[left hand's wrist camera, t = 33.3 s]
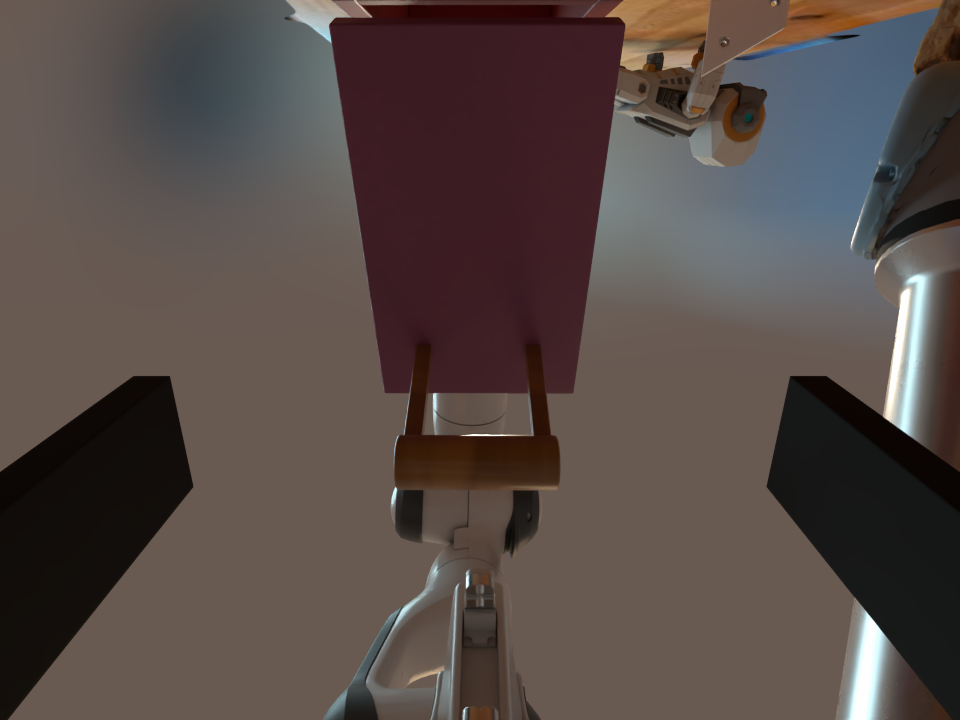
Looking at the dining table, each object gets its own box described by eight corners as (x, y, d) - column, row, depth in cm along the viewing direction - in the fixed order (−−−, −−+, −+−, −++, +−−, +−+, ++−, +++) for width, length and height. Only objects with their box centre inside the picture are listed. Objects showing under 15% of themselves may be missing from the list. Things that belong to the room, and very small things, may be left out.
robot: (554, 27, 116) (727, 76, 126) (532, 127, 122) (699, 166, 132) (611, -3, 89) (826, 62, 99) (580, 127, 95) (784, 176, 105)
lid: (571, 380, 30) (595, 528, 23) (386, 379, 30) (359, 528, 23) (620, 16, 19) (691, 100, 12) (334, 16, 19) (256, 100, 13)
